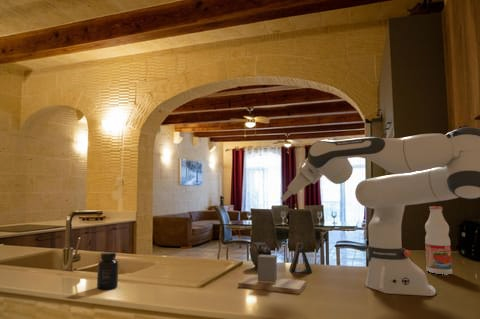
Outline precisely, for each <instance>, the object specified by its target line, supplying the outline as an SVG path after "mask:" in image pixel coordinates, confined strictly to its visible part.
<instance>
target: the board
mask: <svg viewBox="0 0 480 319" xmlns="http://www.w3.org/2000/svg"><path fill="white" fill-rule="evenodd" d="M237 284H238V285H237V288H243V289H251V290H262V291H269V292H277V291H278V292H280V293H288V294H297V295H298V294H299V295H300V294H301V293H302V291H303V290H304V289H305V288H306V286H307V285H308V284H307V280H300V279H289V278H278V277H277V281H276V282H275V283H262V282H258V275H248V276H247V277H245V278H244V279H242V280H240V281H239V282H237ZM278 292H277V293H278Z"/></svg>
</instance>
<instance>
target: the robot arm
mask: <svg viewBox="0 0 480 319" xmlns="http://www.w3.org/2000/svg"><path fill="white" fill-rule="evenodd" d="M350 158H351V159H353V158H361V159H365V160H368V161H369V162H370V161H371V162H372V163H374V164H376V165H377V166H379V167H381V168H382V169H384V170H386V171H387V172H388V173H391V174H389V175H382V176H381V175H380V176H377V177H371V178H367V179H363V180H361V181H360V182H359V183H358V184H357V185H356V187H355V191H354V192H355V193H354V195H355V198H356V201H357V203H359V204H360V205H361V206H363V207H366V208H369V209H373V210H374V211H373V215H372V218H371V220H370V221H369V223H368V226H367V227H368V230H367V231H368V246H367V249H366V251H367V260H368V268H367V276H366V281H365V286H366V287H367V288H370V289H372V290H375V291H379V292H381V293H382V294H383V293H384V294H390V295H391V294H392V295H412V296H424V297H425V296H430V297H431V296H435V295H436V293H437V291H436V289H435V287H434V286H433V285H431V284H430V283H429V281H428V277H427V275H426V273H425V271H424V270H423V269H422V268H420V267H419V266H418V265H417V264H415V263H414V262H413V261H412V260H410V259H409V257H410V256H411V252H410V250H407V249H406V248H404V247H402V222H403V216H404V212H405V209H406V208H405V207H406V206H411V205H419V204H428V203H435V202H443V201H449V200H453V199H457V198H461V199H463V200H464V199H465V200H476V199H480V128H476V127H473V126H472V127H471V126H464V127H460V128H457V129H454V130H452V131H449V132H447V133H446V134H443V133H424V134H423V133H421V134H416V135H411V136H405V137H398V138H386V137H385V138H384V137H378V136H367V137H357V138H347V139H340V140H338V139H336V138H332V137H329V138H327V139H322V140H318V141H315V142H314V143H312V145H311V146H310V147H309V149H308V152H307V158H305V160H303V161H302V163H300V164H299V165H298V166H297V170H298V171H297V172H296V176H294V178H293V179H292V180H291V182H289V184H288V186H287V188H286V189H287V191H285V192H284V194H283V195H282V196H281V197H280V200H282V201H283V202H285V201H286V200H287V199H288V198H290V197H291V196H292V195H294V196H295V195H296V194H298V193H299V192H300V191H301V190H303V189H304V188H306V186H308V185H311V184H313V185H315V184H316V183H317V182H318V181H319V180H320V179H321V178H323V176H324V177H325V178H326V179H327V180H328V181H329V182H331V183H333V184H336V185H340V184H342V183H346V182H347V181H348V180H349V179H350V178H351V177H352V174H353V172H354V171H353V170H354V169H353V168H354V167H353V166H352V164H351V162H350V160H349V159H350Z"/></svg>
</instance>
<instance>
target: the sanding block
mask: <svg viewBox="0 0 480 319" xmlns="http://www.w3.org/2000/svg"><path fill="white" fill-rule="evenodd" d="M277 263H278V262H277V255H275V254H271V255H259V256H258V270H257V276H258V282H262V283H275V282H276V281H277V278H278V277H277V276H278V275H277V270H278V269H277Z"/></svg>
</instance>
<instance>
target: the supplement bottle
mask: <svg viewBox="0 0 480 319" xmlns="http://www.w3.org/2000/svg"><path fill="white" fill-rule="evenodd" d="M116 254H117V253H116V252H115V251H113V252H112V251H111V252H110V251H108V252H102V253H101V254H100V259H101V260H99V262H98V264H97V275H96V276H97V277H96V278H97V279H96V288H97V289H98V290H99V291H107V290H113V289H116V288H117V287H118V284H119V283H118V282H119V281H118V280H119V261H118V260H117V259H116V257H117V256H116Z"/></svg>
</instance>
